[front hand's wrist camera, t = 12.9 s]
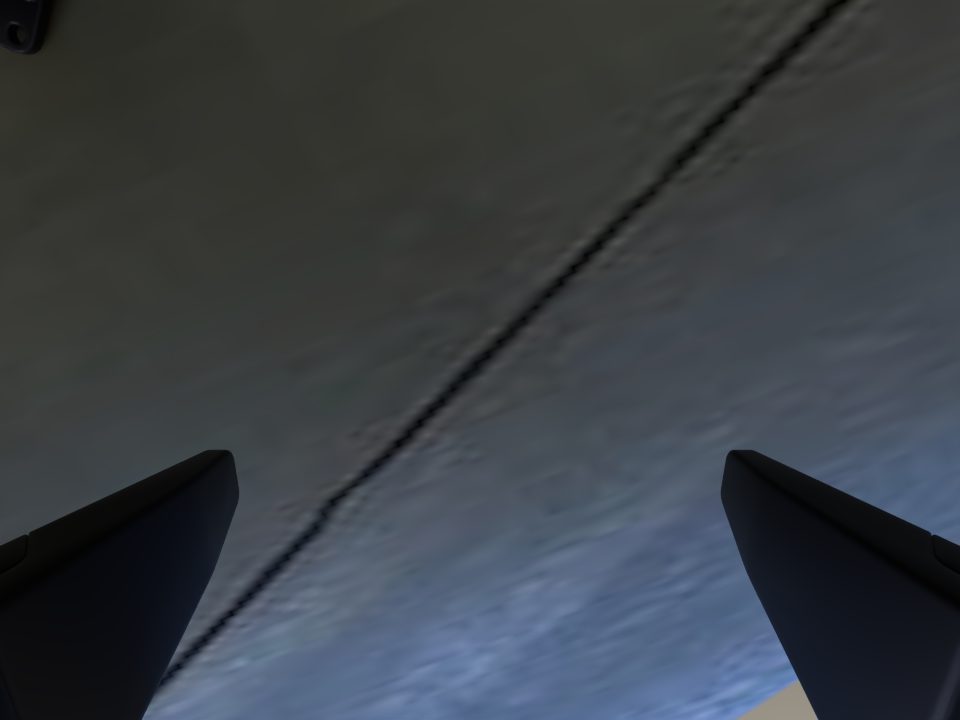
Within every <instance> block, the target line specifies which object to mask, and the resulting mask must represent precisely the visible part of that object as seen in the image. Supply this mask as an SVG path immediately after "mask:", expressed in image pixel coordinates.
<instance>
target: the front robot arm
mask: <svg viewBox="0 0 960 720" xmlns="http://www.w3.org/2000/svg"><path fill="white" fill-rule="evenodd" d="M51 1H52V0H0V45H1V46H3V47H5V48H7V49H9V50H11V51H13V52H17V53H22V54H35V53H37V52H38V51H39V50H40V49H41V47H42V45H43V40H44V35H45V31H46V26H47V21H48V16H49V11H50V6H51ZM19 27H21V28H22V29H23V31H24V32H25V40H24V42H23V43H21V42H20V41H19V39H18V37H17V30H18V28H19ZM238 499H239V486H238V480H237V474H236V468H235V462H234V457H233V455H232V453H231V452H230V451H229V450H207V451H204V452H202V453H200V454H198V455H195V456H193V457H191V458H189V459H187V460H185V461H182V462H180V463H178V464H176V465H174V466H172V467H170V468H167V469H165V470H163V471H161V472H159V473H157V474H154V475H152V476H150V477H148V478H146V479H144V480H141V481H139V482H137V483H135V484H133V485H131V486H129V487H126V488H124V489H122V490H120V491H118V492H116V493H113V494H111V495H109V496H107V497H105V498H103V499H101V500H98V501H96V502H94V503H92V504H90V505H88V506H85V507H83V508H81V509H79V510H77V511H75V512H72V513H70V514H68V515H66V516H64V517H62V518H60V519H57V520H55V521H53V522H51V523H49V524H47V525H44V526H42V527H40V528H38V529H36V530H34V531H32V532H30V533H29V536H28V535H23V536H20V537H18V538H16V539H14V540H12V541H10V542H8V543H5V544H3V545H1V546H0V720H142V718H143V716H144V714H145V712H146V710H147V708H148V706H149V704H150V702H151V700H152V697H153V695H154V693H155V691H156V689H157V687H158V685H159V683H160V681H161V679H162V677H163V675H164V673H165V671H166V669H167V667H168V665H169V663H170V661H171V659H172V657H173V654H174V652H175V650H176V648H177V646H178V644H179V642H180V640H181V638H182V636H183V634H184V632H185V630H186V628H187V626H188V624H189V622H190V620H191V618H192V616H193V614H194V611H195V609H196V607H197V605H198V603H199V601H200V599H201V597H202V595H203V593H204V591H205V589H206V587H207V585H208V583H209V580H210V578H211V576H212V574H213V572H214V569H215V566H216V564H217V561H218V558H219V555H220V552H221V550H222V547H223V544H224V541H225V538H226V535H227V532H228V529H229V527H230V524H231V521H232V518H233V515H234V512H235V509H236V507H237V504H238ZM721 499H722V504H723V507H724V509H725V512H726V515H727V518H728V521H729V524H730V527H731V529H732V532H733V535H734V538H735V541H736V544H737V547H738V550H739V552H740V555H741V558H742V561H743V564H744V566H745V569H746V571H747V574H748V576H749V578H750V580H751V583H752V585H753V587H754V589H755V591H756V593H757V595H758V597H759V599H760V601H761V603H762V605H763V607H764V609H765V611H766V614H767V616H768V618H769V620H770V622H771V624H772V626H773V628H774V630H775V632H776V634H777V636H778V638H779V640H780V642H781V644H782V646H783V648H784V650H785V652H786V654H787V657H788V659H789V661H790V663H791V665H792V667H793V669H794V671H795V673H796V675H797V677H798V679H799V681H800V683H801V685H802V687H803V689H804V691H805V693H806V695H807V698H808V700H809V702H810V704H811V706H812V708H813V710H814V712H815V714H816V716H817V718H818V720H960V546H959V545H957V544H955V543H952V542H950V541H948V540H946V539H944V538H942V537H940V536H937V535H932V536H931V533H930V532H929V531H926V530H924V529H922V528H920V527H918V526H916V525H913V524H911V523H909V522H907V521H905V520H903V519H900V518H898V517H896V516H894V515H892V514H890V513H888V512H885V511H883V510H881V509H879V508H877V507H875V506H872V505H870V504H868V503H866V502H864V501H862V500H859V499H857V498H855V497H853V496H851V495H849V494H847V493H844V492H842V491H840V490H838V489H836V488H834V487H831V486H829V485H827V484H825V483H823V482H821V481H819V480H816V479H814V478H812V477H810V476H808V475H806V474H803V473H801V472H799V471H797V470H795V469H793V468H790V467H788V466H786V465H784V464H782V463H780V462H778V461H775V460H773V459H771V458H769V457H767V456H765V455H762V454H760V453H758V452H756V451H753V450H731V451H730V452H729V453H728V455H727V457H726V462H725V468H724V474H723V480H722V486H721Z"/></svg>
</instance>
